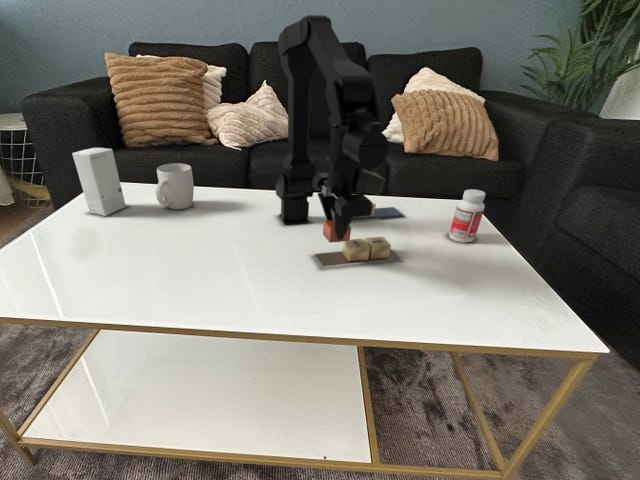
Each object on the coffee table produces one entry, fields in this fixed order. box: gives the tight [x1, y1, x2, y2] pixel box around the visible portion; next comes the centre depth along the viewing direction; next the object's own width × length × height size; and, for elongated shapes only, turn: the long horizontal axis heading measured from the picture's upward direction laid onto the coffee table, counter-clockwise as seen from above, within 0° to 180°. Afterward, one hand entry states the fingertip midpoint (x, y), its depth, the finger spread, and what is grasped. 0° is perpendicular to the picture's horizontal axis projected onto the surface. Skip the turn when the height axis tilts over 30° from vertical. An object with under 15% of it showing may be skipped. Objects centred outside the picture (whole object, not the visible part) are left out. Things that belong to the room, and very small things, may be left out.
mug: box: [155, 162, 195, 210], centre depth 110 cm, size 13×9×10 cm
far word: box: [352, 198, 404, 221], centre depth 110 cm, size 18×6×4 cm, turn 105°
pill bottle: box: [448, 188, 486, 243], centre depth 97 cm, size 6×6×11 cm
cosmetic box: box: [72, 147, 127, 217], centre depth 106 cm, size 8×6×15 cm
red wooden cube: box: [322, 219, 352, 243], centre depth 85 cm, size 4×4×3 cm
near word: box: [314, 236, 400, 267], centre depth 90 cm, size 18×6×4 cm, turn 105°
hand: (336, 234), depth 86 cm, fingers closed on red wooden cube, 4 cm apart
